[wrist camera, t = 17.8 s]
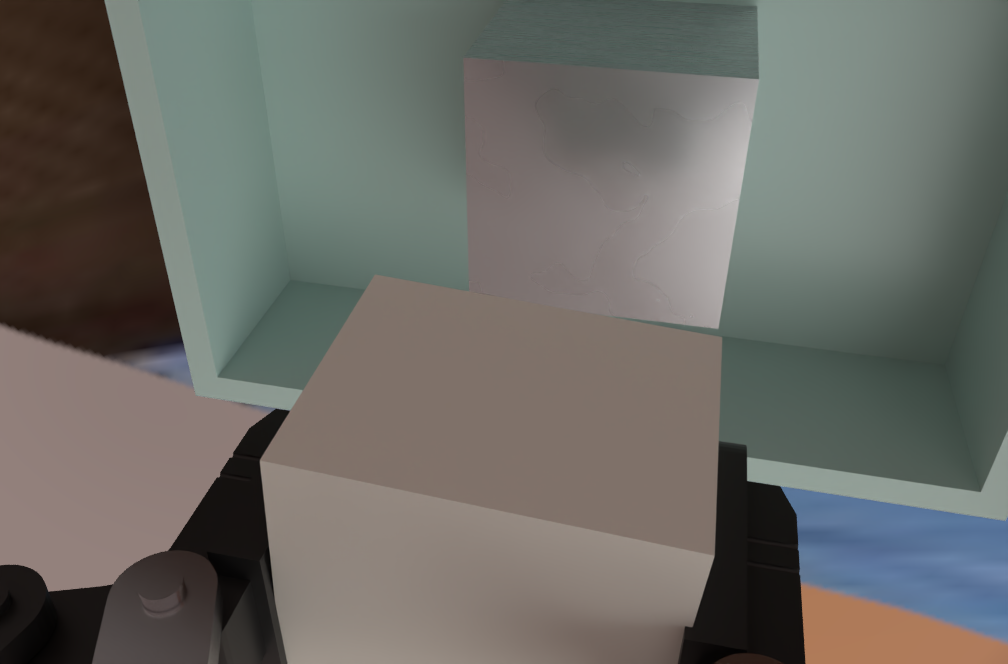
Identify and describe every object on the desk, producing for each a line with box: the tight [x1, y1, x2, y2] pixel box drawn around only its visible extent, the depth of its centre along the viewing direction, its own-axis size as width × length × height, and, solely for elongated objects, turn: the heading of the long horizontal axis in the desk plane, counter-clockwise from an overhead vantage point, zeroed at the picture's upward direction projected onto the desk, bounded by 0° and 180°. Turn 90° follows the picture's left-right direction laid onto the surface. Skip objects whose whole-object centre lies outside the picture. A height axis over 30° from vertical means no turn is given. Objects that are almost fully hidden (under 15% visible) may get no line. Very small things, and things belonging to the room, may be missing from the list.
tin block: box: [463, 0, 759, 329], centre depth 23 cm, size 6×6×5 cm
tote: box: [105, 0, 1008, 521], centre depth 23 cm, size 15×22×6 cm
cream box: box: [260, 275, 722, 664], centre depth 13 cm, size 5×5×4 cm
